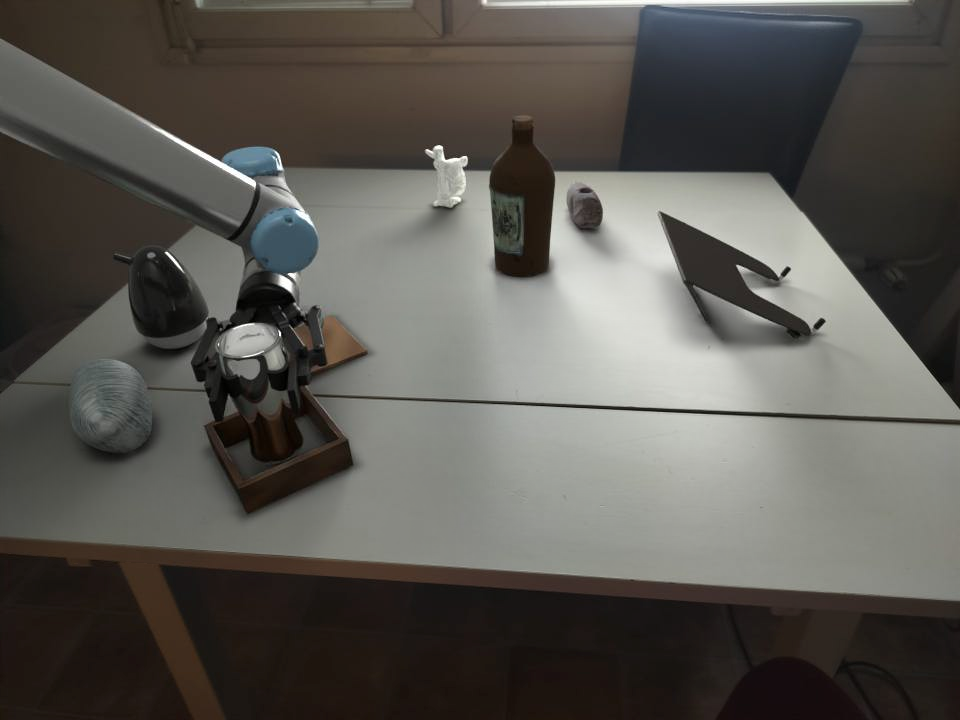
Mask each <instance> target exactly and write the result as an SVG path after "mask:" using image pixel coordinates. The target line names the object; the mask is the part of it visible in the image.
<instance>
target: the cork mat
mask: <svg viewBox="0 0 960 720" xmlns="http://www.w3.org/2000/svg"><path fill="white" fill-rule="evenodd" d="M323 321H324V326H323V328H322V330H321V333H322V338H323V342H324V347H325V352H326V357H327V362H328V364H327V365H326V366H324V367H319V366H317V365H315V366H313V367H312V369H311V377H313V376H314V375H316V374H319V373H322V372H325V371H327V370H330V369H332V368H334V367H337V366H339V365H342V364H345V363H347V362H348V363H349V362H350V361H353V360H355V359H358V358H361V357H363V356H365V355H368V350H367V348H365V347H364V345H362V344H361V343H360V342H359V341H358V339H356V338H355V337H354V336H353V335H352V334H351V333H350V332H349V331H348V330H347V329H346V328H345V327H344V326H343V325H342V324H341V323H340V322H339V321H338V320H337V319H336V318H335V317H334V316H333V315H330V316H327V317H323ZM293 330H294V332H295V333H296V334H297V336H298V337H299V339H300V340H301V341H302V343H303V344H304V346H306V345H307V349H308V350H311V349H314V348H313V343H312V338H311V333H310V330H309V329H308V326H305V324H304V325H302V326H297V327H296V328H295V329H293ZM305 344H306V345H305ZM285 349H286V347H285ZM286 352H287V355H288V359H289V358H290V353H289V352H288V350H287V349H286Z"/></svg>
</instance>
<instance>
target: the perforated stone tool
mask: <svg viewBox="0 0 960 720" xmlns="http://www.w3.org/2000/svg"><path fill="white" fill-rule="evenodd" d="M565 200H566V201H565V203H566V206H567V210H568V212H569V214H570V216H571V218H572V220H573V222H574V223H575V224H576V225H577V226H578V227H579V228H580V229H584V230H585V229H596V228H598V227H600V225H601V224H602V222H603V218H604V209H603V205H602V202H601V199H600V198H599V195H598V194H597V193H596V192H595V190H594V189H593V188H592V187H591V186H589V185H587V184H586V183H584V182H582V181H573V182H572V183H571V184H570V185H569V187H568V188H567V191H566V199H565Z"/></svg>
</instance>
